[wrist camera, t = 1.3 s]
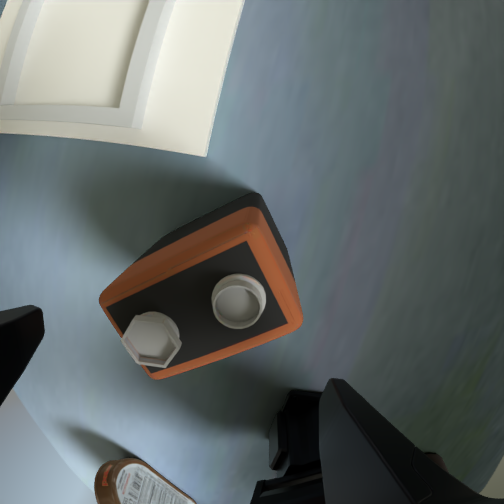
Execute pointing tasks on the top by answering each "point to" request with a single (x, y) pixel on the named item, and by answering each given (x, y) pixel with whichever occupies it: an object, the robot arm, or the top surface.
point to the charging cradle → (116, 69)
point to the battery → (206, 291)
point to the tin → (135, 485)
